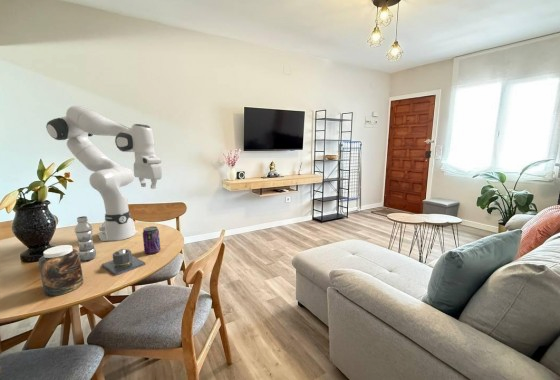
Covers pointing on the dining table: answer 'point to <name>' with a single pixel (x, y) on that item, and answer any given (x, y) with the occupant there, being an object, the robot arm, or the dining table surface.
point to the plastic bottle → (85, 239)
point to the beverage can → (151, 240)
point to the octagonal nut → (122, 257)
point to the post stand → (123, 265)
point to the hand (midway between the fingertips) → (148, 187)
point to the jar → (60, 270)
